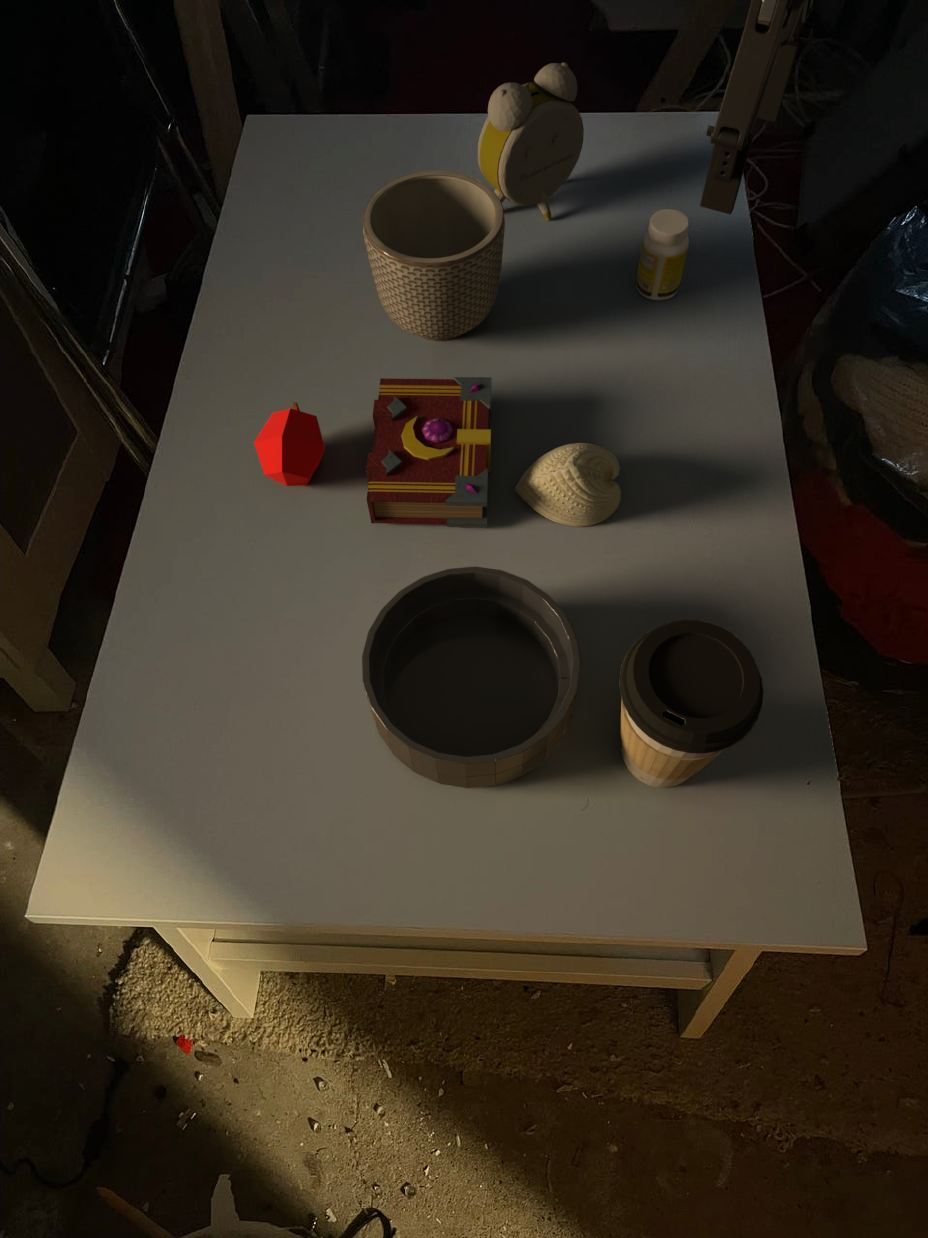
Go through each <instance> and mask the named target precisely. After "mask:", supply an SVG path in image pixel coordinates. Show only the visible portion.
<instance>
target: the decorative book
mask: <svg viewBox="0 0 928 1238" xmlns="http://www.w3.org/2000/svg"><path fill="white" fill-rule="evenodd" d="M377 397H378V398H377V399H374V400H373V410H372V421H373V427H374V431H373V440H372V449H371V450H372V451H371V452H368V453H367V460H366V467H365V470H366V471H365V473H366V477H367V483H368V484H367V491H366V503H367V508H368V514H369V518H370V523H371V524H388V525H390V524H395V525H397V524H398V525H440V526H441V525H442V526H443V525H444V526H445V525H446V526H447V528H470V529H471V528H473V529H475V528H476V529H488V513H489V512H488V511H489V509H488V508H489V507H488V506H489V490H488V487H489V473H491V465H492V462H491V461H492V443H491V442H492V437H491V436H492V429H491V427H492V426H491V425H492V423H491V422H492V376H453V379H452V378H385V377H384V378H382V377H381V378H380V379H379V388H378V396H377Z"/></svg>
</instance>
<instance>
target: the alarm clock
mask: <svg viewBox="0 0 928 1238" xmlns="http://www.w3.org/2000/svg"><path fill="white" fill-rule="evenodd" d="M577 94H578V82H577V77H576V76H575V74H574V71H572V70H571V69H570V68H569V64H568V63H567V62H561V63H559V62H551V63H548V64H546V65H544V66H543V67H542V68H541V69H539V70H538V72H536V74H535V76H534V79H533V81H532V82H526V83H524V84H521V83H517V82H505V83H503V84H501V85H499V86H498V87H497V88H496V89H495V90H494V91H492V94H491V95H490V98H489V100H488V105H487V117H486V119H485V121H484V122H483V126H482V129H481V132H480V134H479V137H478V143H477V162H478V166H479V169H480V173H481V174H482V175H483V177H484V179H485V180H486V182H488V183H489V185H491V186H492V187H493V189H494V192H495V193H496V195H497V196H498V198H499V199H500V201H501V204H502V203H503V202H504V201H505V200H507V201H509V202H511V203H513V204H516V205H518V206H530V205H531V206H532V205H537V206H538V208H539V210H540V212H541V214H542V216H543V217H544V220H545V221H550V220H551V219H552V213H551V211H552V210H551V208H550V201H549V197H551V196H552V195H554V194H555V193H556V192H558V191H559V189H560V188H561V187H562V186H563V185H564V184H565V183H566V181H567V180H568V179H569V177H570V176H571V174H572V173H573V170H574V169H575V168H576V165H577V163H578V161H579V159H580V156H581V152H582V149H583V145H584V136H585V135H584V134H585V133H584V131H585V129H584V123H583V122H584V121H583V118H582V116H581V113H580V112H579V110H578V108H576V106H575V105H574V104H573V102H575V101H576V98H577ZM502 205H503V204H502Z"/></svg>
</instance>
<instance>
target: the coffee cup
mask: <svg viewBox="0 0 928 1238" xmlns="http://www.w3.org/2000/svg"><path fill="white" fill-rule="evenodd" d="M618 677H619V678H618V681H619V693H620V697H621V705H620V706H621V707H620V740H621V756H622V759H623V763H624V764H625V766H626V769H627V770H628V771H629V772H630V774H631V775H632V776H633V777H634V778H635V779H636V780H638V781H640V782H641V783H643V784H645V785H647V786H650V787H654V788H660V789H661V788H662V789H667V788H673V787H676V786H678V785H681V784H682V783H684V782H685V781H687V780H688V779H689V778H691V776H693V775H695V774H697V773H698V772H700V771H701V770H702V769H704V767H706V765H708V764H709V763H710V762H711V761H713V760H714V759H715V758H716V757H717V756H719V755H720V754H721V753H722V752H723V751H725V750H726V749H728V748H731V747H732V746H734V745H735V744H738V743H739V742H740V741H742V740H743V739H744V738H745V737H747V735H748V734H749V733H750V732H751V731H752V730H753V728H754V726H755V725H756V723H757V721H758V720H759V717H760V714H761V711H762V707H763V703H764V685H763V677H762V675H761V672H760V669H759V666H758V664H757V661H756V660H755V658H754V656H753V654H752V653H751V651H750V649H749V648H748V647H747V646H746V645H745V643H744V642H743V641H742V640H741V639H740V638H738V637H737V636H736V635H735V634H734V633H733V632H732V631H729V630H727V629H725V628H724V627H722V626H721V625H718V624H715V623H713V622H709V621H706V620H701V619H681V620H675V621H674V620H673V621H671V622H667V623H664V624H662V625H658V626H656V627H654V628H652V629H651V630H649V631H647V632H645V633H643V634H642V635H641V637H639V638H638V639H637V640H636V641H635V642H634V643H633V644H632V646H631V647H630V648H629V650H628V651H627V653H626V654H625V656H624V659H623V661H622V663H621V666H620V671H619V676H618Z"/></svg>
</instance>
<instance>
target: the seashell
mask: <svg viewBox="0 0 928 1238" xmlns="http://www.w3.org/2000/svg"><path fill="white" fill-rule="evenodd" d="M620 470H621V467H620V463H619V461H618V459H617V457H616V456H615V454H613V452H611V451H609V450H608V449H607V448H605V447H602V446H601V445H597V444H593V443H587V442H575V443H574V442H573V443H568V444H564V445H561V446H558V447H556V448H554V449H552V450H550V451H548V452H546V453H545V454H542V455H541V456H540V457H539V458H538V459H537V460H535V461H534V462H533V463H532V464H531V465H530V466H529V467H528V468H527V470H526V471H525V472H524V473H523V474H522V476H521V478H520V479H519V481H518V482H517V483H516V485H515V487H514V491H515V492H516V493H517V495H519V496H520V497H521V499H522V500H523V501H524V502H526V503H527V504H528V505H529V506H530V507H531V508H532V509H533V510H534V511H535V512H536V513H538V514H539V515H541V516H542V517H545V518H546V519H548V520H550V521H552V522H554V523H557V524H561V525H563V526H567V527H578V528H580V527H581V528H582V527H590V526H594V525H596V524H599V523H600V524H601V523H602V522H603V521H605V520H607V519H608V518H609V517H611V516H612V515H614V513H615V512H616V511H617V509H618V507H619V505H620V503H621V499H622V491H621V488H620V486H619V484H618V483H617V482H616V481H614V479H615V478H617V477H618V476H619V474H620Z"/></svg>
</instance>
